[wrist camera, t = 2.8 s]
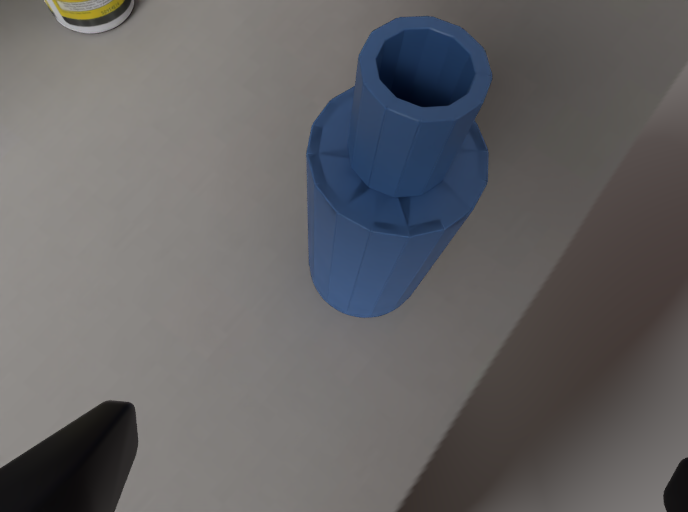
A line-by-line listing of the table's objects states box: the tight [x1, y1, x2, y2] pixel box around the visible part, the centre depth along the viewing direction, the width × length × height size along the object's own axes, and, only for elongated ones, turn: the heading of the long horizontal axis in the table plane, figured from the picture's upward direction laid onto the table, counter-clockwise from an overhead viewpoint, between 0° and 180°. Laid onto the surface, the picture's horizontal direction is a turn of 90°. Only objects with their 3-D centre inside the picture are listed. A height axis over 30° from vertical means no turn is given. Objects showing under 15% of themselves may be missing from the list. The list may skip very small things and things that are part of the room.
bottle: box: [306, 16, 492, 318], centre depth 17 cm, size 5×5×14 cm
